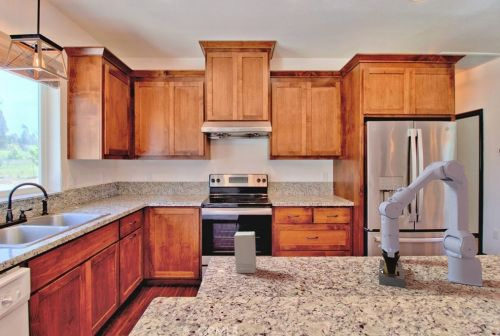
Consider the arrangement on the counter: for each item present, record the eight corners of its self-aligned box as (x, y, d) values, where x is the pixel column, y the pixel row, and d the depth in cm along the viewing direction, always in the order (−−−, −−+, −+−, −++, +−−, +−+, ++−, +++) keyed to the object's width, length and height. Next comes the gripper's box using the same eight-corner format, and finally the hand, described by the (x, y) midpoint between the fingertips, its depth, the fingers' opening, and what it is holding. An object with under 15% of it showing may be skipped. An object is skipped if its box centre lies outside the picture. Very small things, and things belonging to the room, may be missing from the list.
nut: (396, 276, 99) (396, 259, 99) (397, 280, 96) (396, 263, 96) (384, 274, 101) (383, 258, 101) (384, 278, 97) (384, 261, 97)
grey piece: (401, 269, 110) (401, 261, 110) (404, 288, 92) (404, 279, 92) (380, 266, 113) (379, 259, 113) (379, 284, 95) (378, 275, 96)
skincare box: (256, 268, 113) (255, 231, 114) (255, 274, 107) (254, 234, 107) (236, 267, 114) (236, 231, 115) (234, 273, 108) (234, 234, 108)
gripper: (378, 229, 107) (379, 264, 106) (377, 237, 94) (378, 276, 94) (398, 231, 104) (399, 266, 103) (400, 239, 91) (401, 280, 90)
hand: (391, 271), depth 98 cm, fingers closed on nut, 4 cm apart
